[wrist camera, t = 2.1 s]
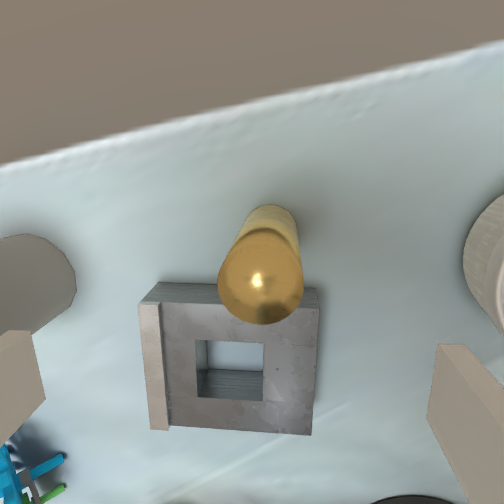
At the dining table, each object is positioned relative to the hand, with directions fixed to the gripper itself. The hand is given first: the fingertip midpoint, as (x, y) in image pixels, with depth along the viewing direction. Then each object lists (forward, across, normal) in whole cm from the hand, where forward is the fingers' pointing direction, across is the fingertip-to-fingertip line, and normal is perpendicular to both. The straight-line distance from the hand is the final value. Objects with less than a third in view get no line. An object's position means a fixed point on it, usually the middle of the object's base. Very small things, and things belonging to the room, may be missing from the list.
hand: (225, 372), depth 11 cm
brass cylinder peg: (+19, -1, 0) cm, 19 cm away
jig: (+19, +2, +11) cm, 22 cm away
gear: (+19, +26, +26) cm, 41 cm away
